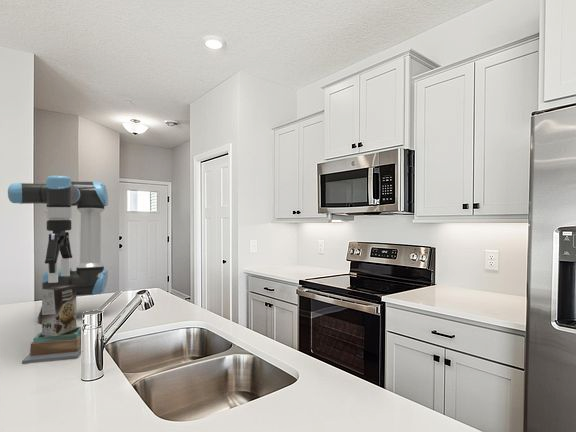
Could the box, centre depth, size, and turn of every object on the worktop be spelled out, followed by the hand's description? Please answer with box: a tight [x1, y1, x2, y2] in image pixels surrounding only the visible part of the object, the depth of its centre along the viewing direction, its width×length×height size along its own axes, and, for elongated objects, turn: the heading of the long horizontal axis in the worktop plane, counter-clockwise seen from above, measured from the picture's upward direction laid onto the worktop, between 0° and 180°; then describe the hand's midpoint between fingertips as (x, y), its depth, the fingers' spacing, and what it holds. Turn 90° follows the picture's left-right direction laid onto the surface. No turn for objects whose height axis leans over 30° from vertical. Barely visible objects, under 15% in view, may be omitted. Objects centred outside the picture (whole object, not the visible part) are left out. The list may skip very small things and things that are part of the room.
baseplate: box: [21, 347, 82, 365], centre depth 130 cm, size 20×16×1 cm
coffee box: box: [41, 285, 77, 336], centre depth 130 cm, size 9×6×16 cm
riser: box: [29, 326, 82, 356], centre depth 130 cm, size 12×14×6 cm
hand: (59, 279), depth 130 cm, fingers open, 13 cm apart
